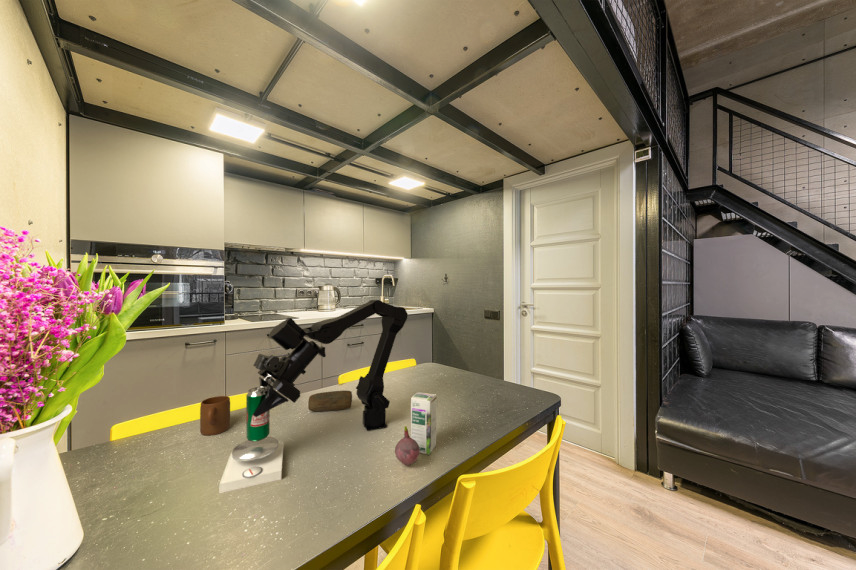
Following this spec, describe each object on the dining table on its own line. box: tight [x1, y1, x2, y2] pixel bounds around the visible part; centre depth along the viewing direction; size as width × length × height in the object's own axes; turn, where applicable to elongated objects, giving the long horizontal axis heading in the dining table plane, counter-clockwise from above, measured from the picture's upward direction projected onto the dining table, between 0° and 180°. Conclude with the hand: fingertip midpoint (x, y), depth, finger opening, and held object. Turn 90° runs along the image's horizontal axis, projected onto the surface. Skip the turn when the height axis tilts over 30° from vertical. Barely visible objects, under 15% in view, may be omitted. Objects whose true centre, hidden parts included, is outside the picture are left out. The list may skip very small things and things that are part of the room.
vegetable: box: [394, 425, 420, 467], centre depth 76 cm, size 6×6×10 cm
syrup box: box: [410, 391, 437, 456], centre depth 84 cm, size 6×6×14 cm
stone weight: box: [307, 390, 353, 412], centre depth 110 cm, size 15×7×7 cm, turn 105°
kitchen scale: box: [218, 441, 284, 494], centre depth 74 cm, size 12×14×2 cm
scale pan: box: [231, 436, 279, 461], centre depth 75 cm, size 10×10×2 cm
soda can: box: [245, 386, 271, 441], centre depth 76 cm, size 5×5×12 cm
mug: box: [199, 395, 231, 436], centre depth 92 cm, size 12×8×9 cm, turn 25°
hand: (252, 412), depth 75 cm, fingers closed on soda can, 5 cm apart
